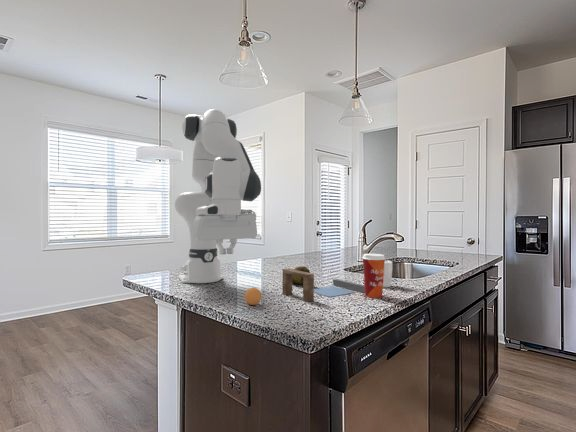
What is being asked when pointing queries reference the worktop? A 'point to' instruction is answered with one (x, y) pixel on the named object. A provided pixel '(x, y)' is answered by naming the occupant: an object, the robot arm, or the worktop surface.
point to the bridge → (307, 283)
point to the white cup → (387, 273)
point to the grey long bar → (349, 285)
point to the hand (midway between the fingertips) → (226, 254)
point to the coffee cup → (373, 274)
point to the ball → (253, 296)
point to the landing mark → (332, 291)
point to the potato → (296, 278)
